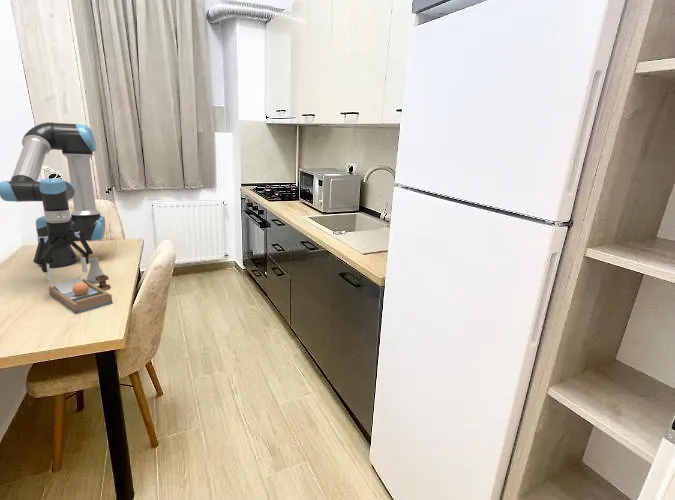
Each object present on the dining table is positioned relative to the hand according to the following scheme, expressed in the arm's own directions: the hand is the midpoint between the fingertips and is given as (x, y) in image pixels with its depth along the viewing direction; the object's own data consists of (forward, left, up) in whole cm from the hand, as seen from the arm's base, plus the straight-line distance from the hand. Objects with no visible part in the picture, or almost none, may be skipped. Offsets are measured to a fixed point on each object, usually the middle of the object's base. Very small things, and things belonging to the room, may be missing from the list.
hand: (67, 275), depth 140 cm
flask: (-6, +12, -7) cm, 16 cm away
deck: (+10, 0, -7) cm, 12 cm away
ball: (+11, 0, -2) cm, 11 cm away
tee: (+4, +10, -7) cm, 13 cm away
